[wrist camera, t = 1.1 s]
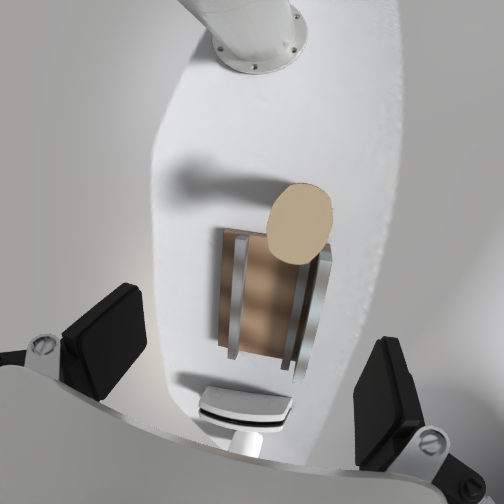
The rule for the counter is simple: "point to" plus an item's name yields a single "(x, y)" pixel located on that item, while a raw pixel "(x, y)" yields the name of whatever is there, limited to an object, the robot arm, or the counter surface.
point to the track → (270, 301)
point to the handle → (299, 223)
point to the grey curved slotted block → (244, 410)
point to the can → (246, 443)
